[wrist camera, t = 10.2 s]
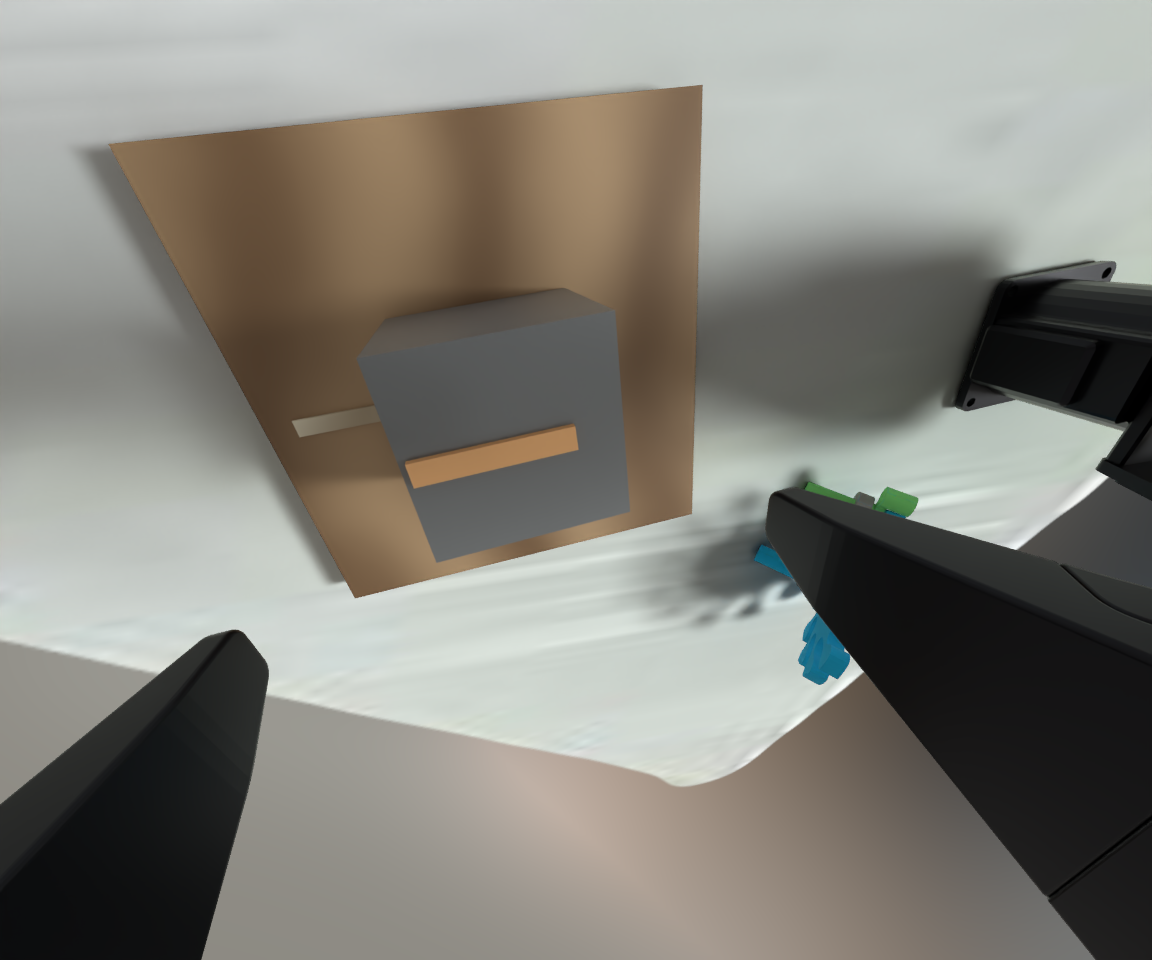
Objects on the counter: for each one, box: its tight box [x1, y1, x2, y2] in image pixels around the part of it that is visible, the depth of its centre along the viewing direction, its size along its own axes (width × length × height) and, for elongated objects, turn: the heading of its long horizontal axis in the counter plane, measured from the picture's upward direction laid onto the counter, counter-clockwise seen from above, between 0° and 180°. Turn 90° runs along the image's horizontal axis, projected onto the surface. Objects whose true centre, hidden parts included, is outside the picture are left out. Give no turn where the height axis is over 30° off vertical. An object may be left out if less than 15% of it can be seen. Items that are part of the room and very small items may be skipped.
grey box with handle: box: [356, 288, 630, 563], centre depth 14 cm, size 6×6×6 cm
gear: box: [754, 482, 918, 685], centre depth 24 cm, size 11×6×10 cm
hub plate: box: [109, 85, 703, 598], centre depth 15 cm, size 16×16×5 cm
